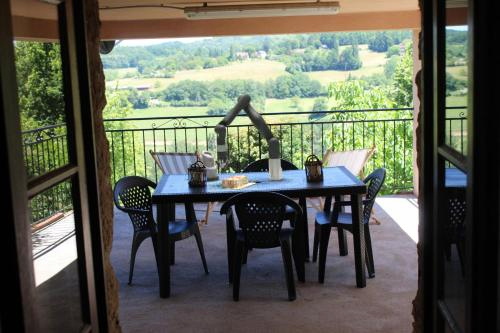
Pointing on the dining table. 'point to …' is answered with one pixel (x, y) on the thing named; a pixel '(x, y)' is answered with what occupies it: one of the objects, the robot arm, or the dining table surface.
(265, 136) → the robot arm
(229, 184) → the stack of blocks
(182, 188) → the dining table surface
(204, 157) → the juicer
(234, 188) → the oak board
